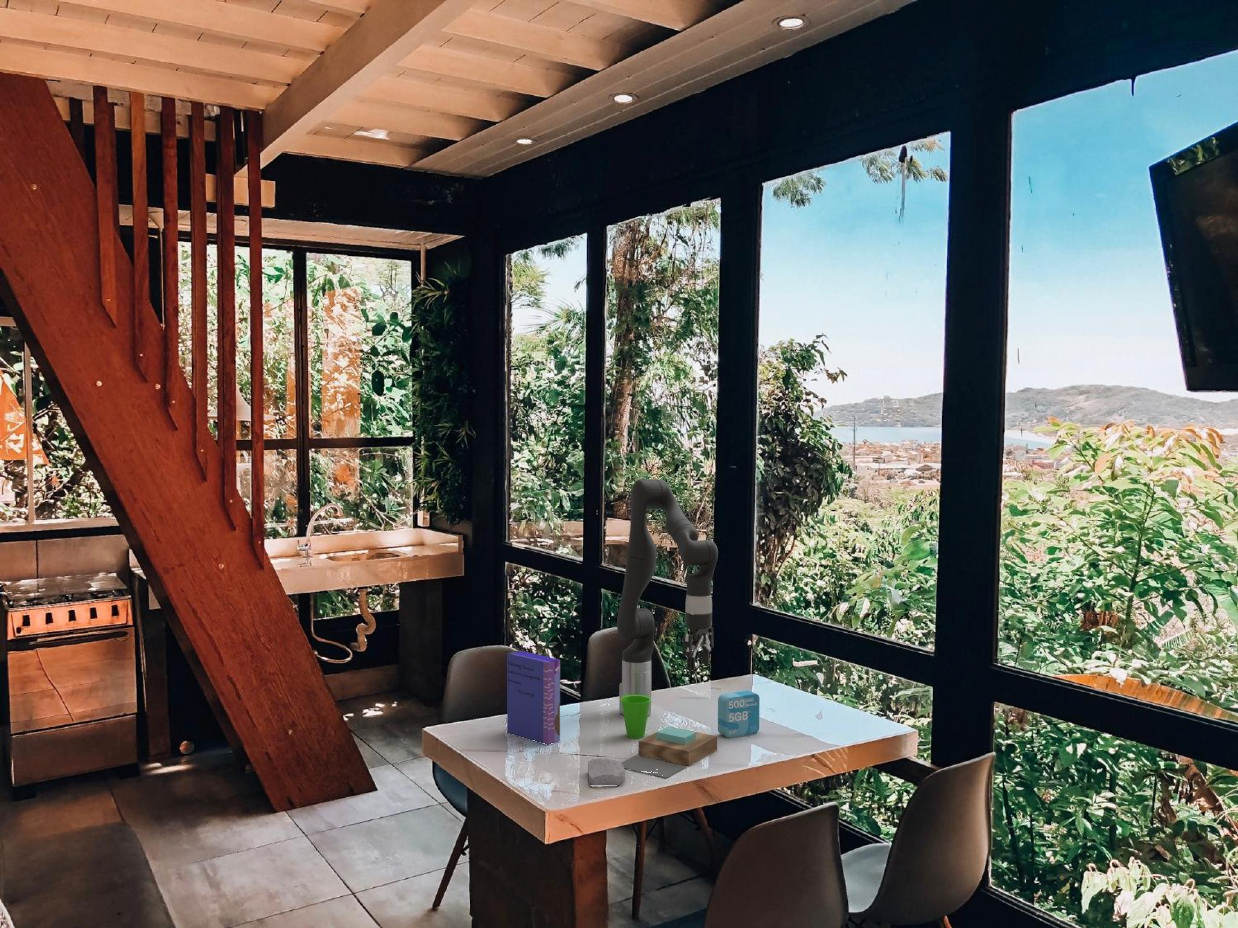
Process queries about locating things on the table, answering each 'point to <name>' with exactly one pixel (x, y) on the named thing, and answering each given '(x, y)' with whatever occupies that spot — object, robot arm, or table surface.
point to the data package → (738, 713)
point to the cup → (635, 714)
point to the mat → (652, 766)
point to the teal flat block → (676, 735)
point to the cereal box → (533, 696)
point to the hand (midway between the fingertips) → (698, 666)
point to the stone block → (605, 772)
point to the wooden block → (678, 748)
